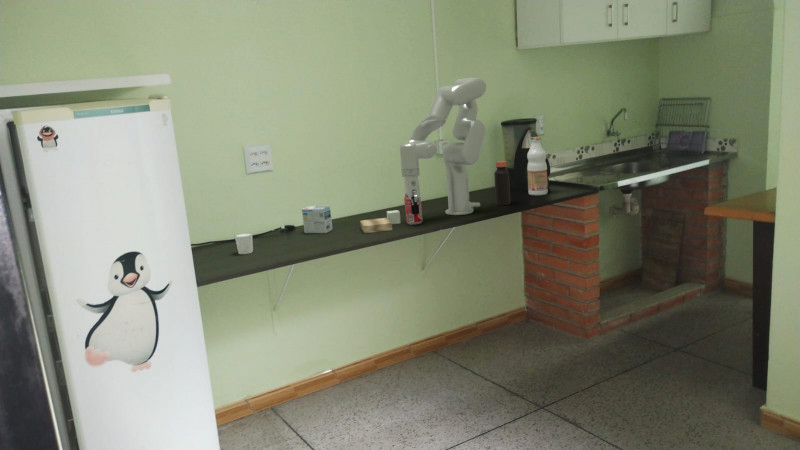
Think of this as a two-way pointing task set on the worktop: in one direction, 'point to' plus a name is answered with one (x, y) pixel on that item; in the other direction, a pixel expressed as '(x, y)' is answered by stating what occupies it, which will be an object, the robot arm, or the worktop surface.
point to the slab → (376, 225)
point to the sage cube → (394, 216)
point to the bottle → (502, 184)
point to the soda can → (410, 217)
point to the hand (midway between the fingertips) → (413, 211)
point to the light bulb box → (317, 219)
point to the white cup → (244, 243)
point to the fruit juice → (537, 168)
